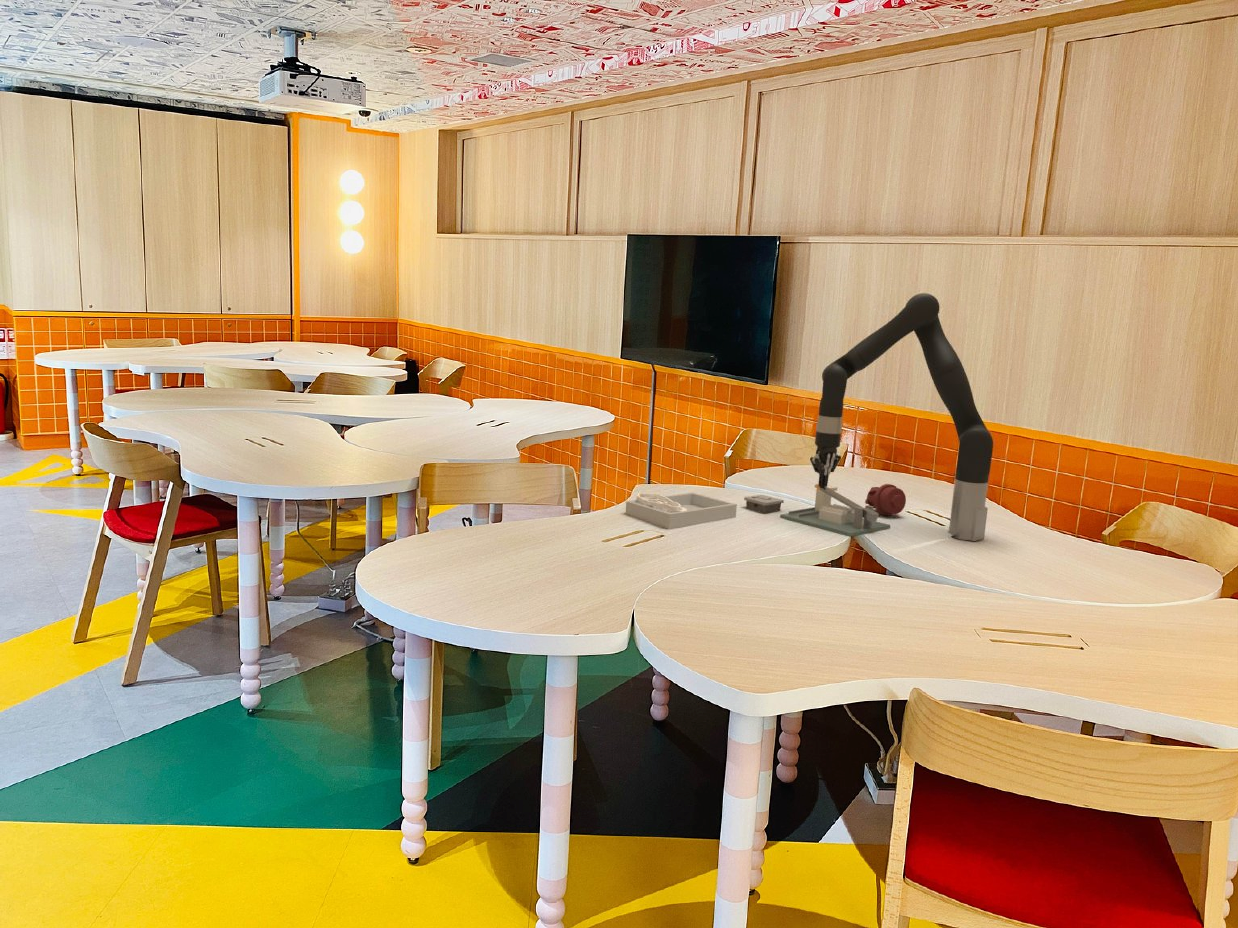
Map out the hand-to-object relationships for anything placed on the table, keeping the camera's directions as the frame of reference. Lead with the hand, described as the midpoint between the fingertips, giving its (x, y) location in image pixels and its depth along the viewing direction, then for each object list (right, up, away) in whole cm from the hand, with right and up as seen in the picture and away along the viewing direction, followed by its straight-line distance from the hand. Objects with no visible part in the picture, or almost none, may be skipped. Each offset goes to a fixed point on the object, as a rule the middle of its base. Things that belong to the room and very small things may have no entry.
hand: (822, 486), depth 287 cm
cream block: (+2, -8, +10) cm, 13 cm away
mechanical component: (+23, -10, +13) cm, 28 cm away
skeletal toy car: (-50, -11, -8) cm, 52 cm away
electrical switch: (-20, -9, +7) cm, 23 cm away
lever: (+5, -5, -6) cm, 9 cm away
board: (+3, -11, -2) cm, 12 cm away
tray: (-44, -9, -5) cm, 45 cm away
